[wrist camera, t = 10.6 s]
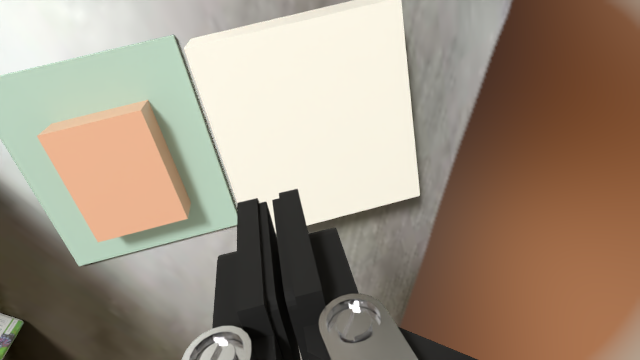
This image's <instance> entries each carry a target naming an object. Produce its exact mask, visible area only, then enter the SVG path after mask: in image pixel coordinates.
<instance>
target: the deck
mask: <svg viewBox="0 0 640 360" xmlns="http://www.w3.org/2000/svg"><path fill="white" fill-rule="evenodd" d="M184 50H185V53H186V56H187V59H188V62H189V65H190V68H191V70H192V73H193V76H194V79H195V82H196V85H197V88H198V91H199V94H200V96H201V99H202V102H203V105H204V108H205V111H206V114H207V117H208V119H209V122H210V125H211V128H212V131H213V134H214V137H215V140H216V143H217V145H218V148H219V151H220V154H221V157H222V160H223V163H224V166H225V168H226V171H227V174H228V177H229V180H230V183H231V186H232V189H233V191H234V194H235V197H236V200H237V203H239V202H243V201H247V200H251V199H256V198H258V200H259V203H261V202H267V205H268V208H269V212H270V215H271V219H272V222H273V226H274V229H275V233H276V227H275V219H274V211H273V203H272V200H274V199H278V198H279V193H281V192H285V191H290V190H294V189H298V192H299V196H300V201H301V205H302V209H303V213H304V217H305V221H306V226H307V225H311V224H315V223H318V222H322V221H326V220H330V219H334V218H337V217H341V216H345V215H349V214H353V213H356V212H360V211H364V210H368V209H372V208H375V207H379V206H383V205H387V204H390V203H394V202H398V201H402V200H406V199H409V198H413V197H417V196H420V190H419V180H418V169H417V159H416V149H415V138H414V128H413V118H412V108H411V97H410V87H409V77H408V66H407V56H406V46H405V36H404V25H403V15H402V5H401V0H353V1H349V2H345V3H341V4H336V5H332V6H328V7H324V8H319V9H315V10H311V11H307V12H302V13H298V14H294V15H290V16H285V17H281V18H277V19H273V20H268V21H264V22H260V23H256V24H251V25H247V26H243V27H239V28H234V29H230V30H226V31H222V32H217V33H213V34H209V35H205V36H200V37H196V38H192V39H190V41H189V42H188V44H187V45H186V46H185V48H184Z"/></svg>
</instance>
